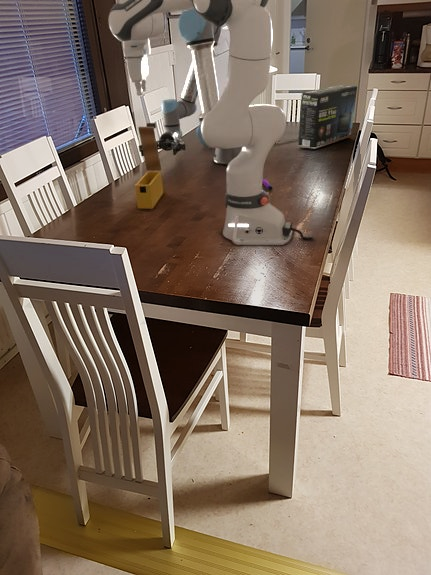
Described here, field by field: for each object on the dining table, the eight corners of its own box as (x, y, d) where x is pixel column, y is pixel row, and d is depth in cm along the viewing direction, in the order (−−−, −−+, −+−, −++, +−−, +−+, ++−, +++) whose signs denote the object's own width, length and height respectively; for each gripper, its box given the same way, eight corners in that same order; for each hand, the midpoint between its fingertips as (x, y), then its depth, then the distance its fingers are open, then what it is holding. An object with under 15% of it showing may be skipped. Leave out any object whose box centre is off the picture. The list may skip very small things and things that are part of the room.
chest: (152, 208, 171) (149, 185, 167) (137, 208, 172) (134, 185, 167) (163, 193, 186) (161, 171, 181) (149, 193, 186) (147, 171, 182)
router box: (314, 151, 231) (318, 94, 217) (296, 148, 237) (299, 92, 224) (352, 138, 251) (358, 85, 238) (335, 135, 258) (340, 83, 245)
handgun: (242, 177, 199) (242, 173, 198) (259, 175, 200) (259, 171, 199) (254, 192, 182) (254, 188, 181) (273, 190, 183) (273, 185, 182)
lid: (153, 127, 168) (157, 117, 173) (138, 127, 168) (143, 117, 174) (160, 170, 180) (164, 159, 186) (146, 170, 181) (151, 159, 187)
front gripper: (132, 47, 164) (137, 89, 171) (122, 51, 146) (128, 98, 153) (149, 46, 163) (154, 88, 171) (142, 51, 146) (147, 97, 153)
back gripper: (196, 147, 207) (188, 160, 189) (143, 150, 210) (130, 162, 192) (195, 130, 203) (186, 141, 185) (140, 133, 206) (127, 144, 188)
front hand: (141, 93), depth 162 cm, fingers open, 8 cm apart
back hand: (157, 152), depth 188 cm, fingers open, 13 cm apart
